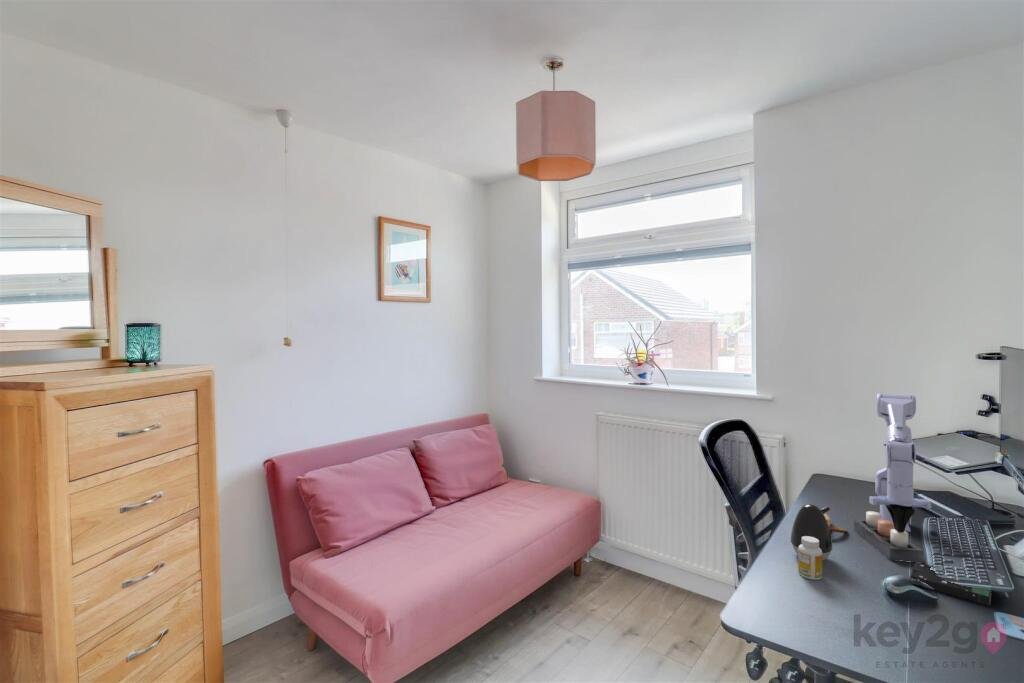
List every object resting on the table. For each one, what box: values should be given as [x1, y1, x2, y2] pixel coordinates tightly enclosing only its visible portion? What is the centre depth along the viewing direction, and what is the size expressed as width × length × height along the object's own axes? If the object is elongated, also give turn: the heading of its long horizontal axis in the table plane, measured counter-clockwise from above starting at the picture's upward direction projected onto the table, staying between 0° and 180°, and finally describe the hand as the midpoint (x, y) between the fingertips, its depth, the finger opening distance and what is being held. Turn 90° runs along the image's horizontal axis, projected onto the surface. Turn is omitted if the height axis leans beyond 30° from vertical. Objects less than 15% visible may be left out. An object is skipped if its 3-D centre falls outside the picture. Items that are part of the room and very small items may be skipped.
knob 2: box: [890, 529, 909, 548], centre depth 139 cm, size 4×4×4 cm
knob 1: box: [865, 510, 882, 528], centre depth 153 cm, size 4×4×4 cm
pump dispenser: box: [790, 503, 834, 562], centre depth 139 cm, size 10×10×15 cm
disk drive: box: [910, 562, 992, 605], centre depth 123 cm, size 10×3×15 cm
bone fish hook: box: [824, 513, 848, 534], centre depth 156 cm, size 9×5×18 cm
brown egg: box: [878, 520, 895, 537], centre depth 146 cm, size 4×4×4 cm
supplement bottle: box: [797, 536, 823, 581], centre depth 129 cm, size 5×5×10 cm
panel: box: [853, 519, 924, 564], centre depth 146 cm, size 21×8×4 cm, turn 168°
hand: (899, 530), depth 139 cm, fingers closed
